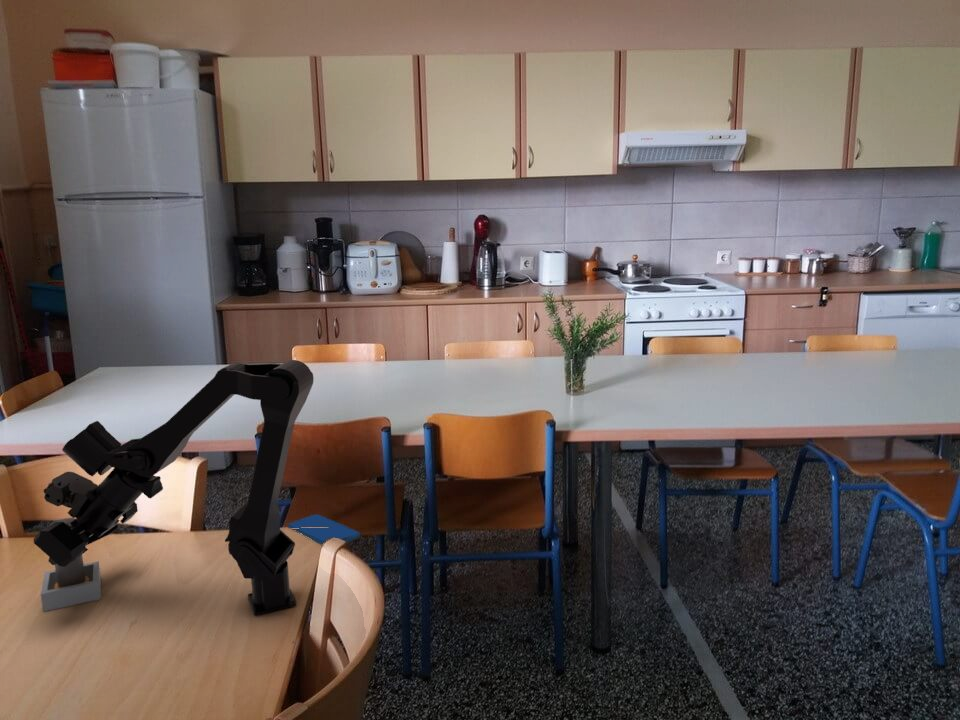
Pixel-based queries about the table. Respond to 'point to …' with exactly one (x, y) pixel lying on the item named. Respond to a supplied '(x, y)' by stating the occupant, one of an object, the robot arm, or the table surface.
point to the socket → (71, 589)
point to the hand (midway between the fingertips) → (60, 556)
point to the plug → (70, 568)
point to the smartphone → (323, 529)
